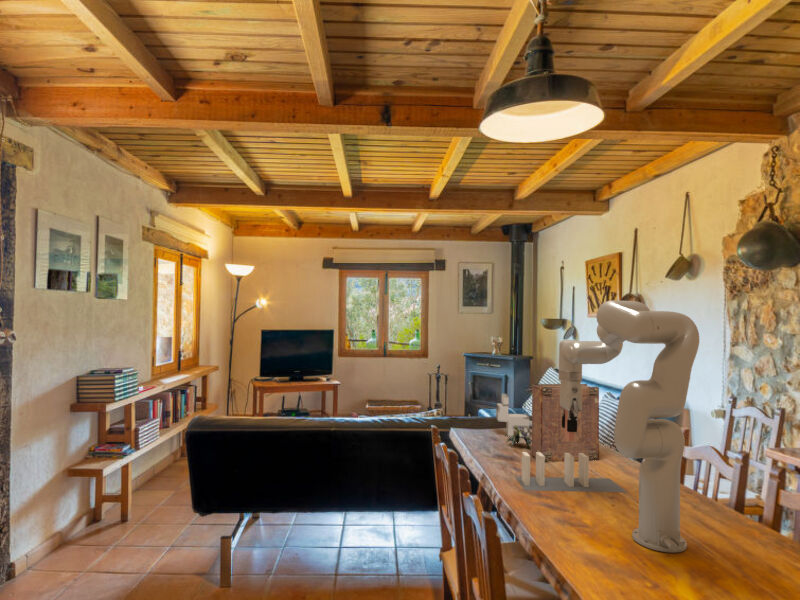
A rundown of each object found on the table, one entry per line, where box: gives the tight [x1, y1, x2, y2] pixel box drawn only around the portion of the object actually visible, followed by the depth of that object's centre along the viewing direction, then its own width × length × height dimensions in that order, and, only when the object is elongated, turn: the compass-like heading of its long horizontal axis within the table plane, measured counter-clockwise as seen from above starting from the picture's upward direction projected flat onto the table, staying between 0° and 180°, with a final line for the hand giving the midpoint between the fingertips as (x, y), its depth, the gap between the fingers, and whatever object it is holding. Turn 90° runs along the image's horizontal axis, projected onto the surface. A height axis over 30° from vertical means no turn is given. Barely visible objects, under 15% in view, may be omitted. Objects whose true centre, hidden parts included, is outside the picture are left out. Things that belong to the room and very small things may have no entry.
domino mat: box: [515, 476, 627, 493], centre depth 171 cm, size 14×34×1 cm, turn 90°
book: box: [531, 383, 600, 463], centre depth 205 cm, size 25×9×30 cm, turn 101°
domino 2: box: [535, 452, 546, 486], centre depth 171 cm, size 5×2×10 cm, turn 0°
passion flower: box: [504, 425, 532, 449], centre depth 221 cm, size 11×11×12 cm
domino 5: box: [578, 453, 590, 487], centre depth 171 cm, size 5×2×10 cm, turn 0°
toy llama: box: [495, 392, 532, 437], centre depth 242 cm, size 8×18×20 cm, turn 85°
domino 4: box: [563, 453, 575, 487], centre depth 171 cm, size 5×2×10 cm, turn 0°
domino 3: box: [565, 409, 574, 441], centre depth 169 cm, size 5×2×10 cm, turn 179°
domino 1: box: [521, 451, 531, 486], centre depth 171 cm, size 5×2×10 cm, turn 0°
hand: (569, 429), depth 169 cm, fingers closed on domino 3, 4 cm apart
